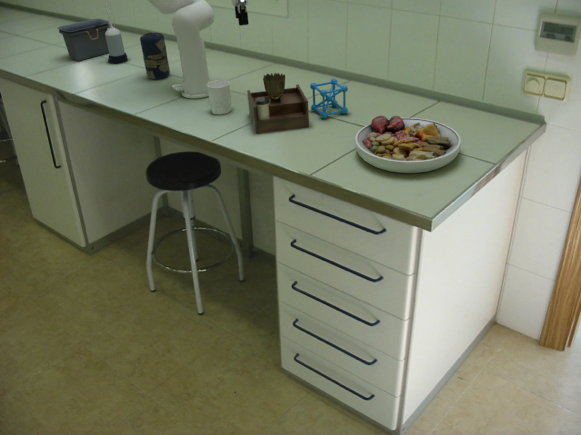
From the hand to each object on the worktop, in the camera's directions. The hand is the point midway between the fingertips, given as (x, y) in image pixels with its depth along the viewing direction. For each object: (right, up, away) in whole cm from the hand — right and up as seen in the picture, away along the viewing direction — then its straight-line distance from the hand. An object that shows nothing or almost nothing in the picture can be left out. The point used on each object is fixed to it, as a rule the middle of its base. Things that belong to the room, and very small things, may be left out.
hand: (242, 21), depth 202 cm
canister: (-38, -9, +44) cm, 58 cm away
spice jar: (+8, -35, -9) cm, 37 cm away
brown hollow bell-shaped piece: (+12, -27, -3) cm, 30 cm away
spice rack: (+12, -34, -2) cm, 37 cm away
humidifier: (-61, +3, +65) cm, 89 cm away
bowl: (+50, -48, -28) cm, 75 cm away
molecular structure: (+30, -31, +2) cm, 43 cm away
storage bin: (-76, +8, +74) cm, 106 cm away
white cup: (-8, -29, +8) cm, 31 cm away
